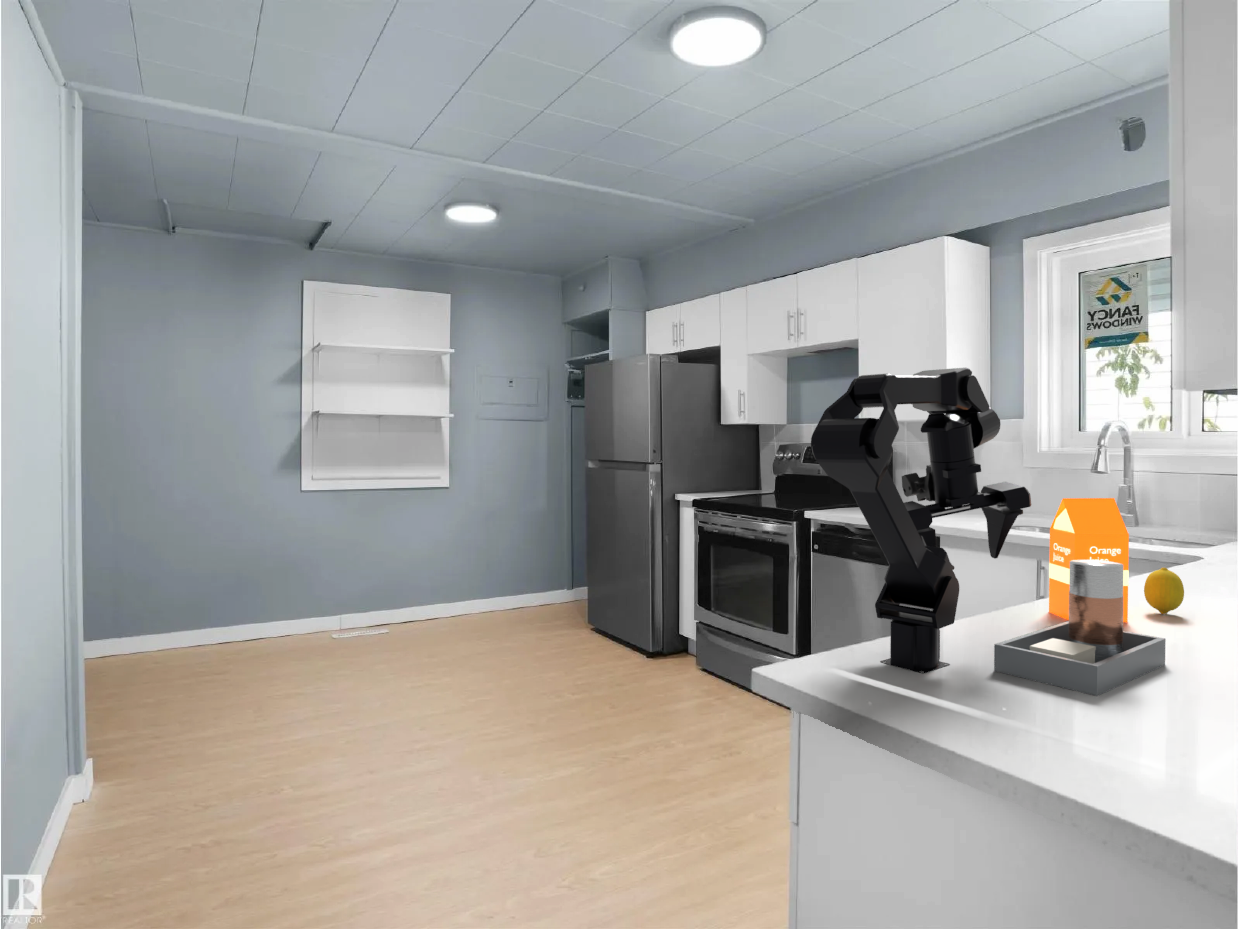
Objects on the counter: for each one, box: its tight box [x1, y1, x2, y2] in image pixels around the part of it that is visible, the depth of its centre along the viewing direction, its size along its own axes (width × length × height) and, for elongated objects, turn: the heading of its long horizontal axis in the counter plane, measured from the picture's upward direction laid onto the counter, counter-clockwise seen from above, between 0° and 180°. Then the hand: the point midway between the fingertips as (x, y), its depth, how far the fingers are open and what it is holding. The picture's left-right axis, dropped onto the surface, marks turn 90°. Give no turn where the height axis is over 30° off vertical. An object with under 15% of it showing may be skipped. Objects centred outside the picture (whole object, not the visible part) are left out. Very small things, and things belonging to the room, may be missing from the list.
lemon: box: [1143, 567, 1185, 615], centre depth 130 cm, size 6×6×8 cm
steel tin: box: [1068, 560, 1124, 663], centre depth 101 cm, size 6×6×13 cm
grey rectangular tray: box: [993, 620, 1167, 697], centre depth 98 cm, size 20×12×4 cm, turn 126°
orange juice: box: [1048, 497, 1130, 623], centre depth 128 cm, size 8×9×20 cm
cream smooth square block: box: [1030, 638, 1096, 664], centre depth 96 cm, size 6×5×4 cm
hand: (964, 564), depth 109 cm, fingers open, 9 cm apart
